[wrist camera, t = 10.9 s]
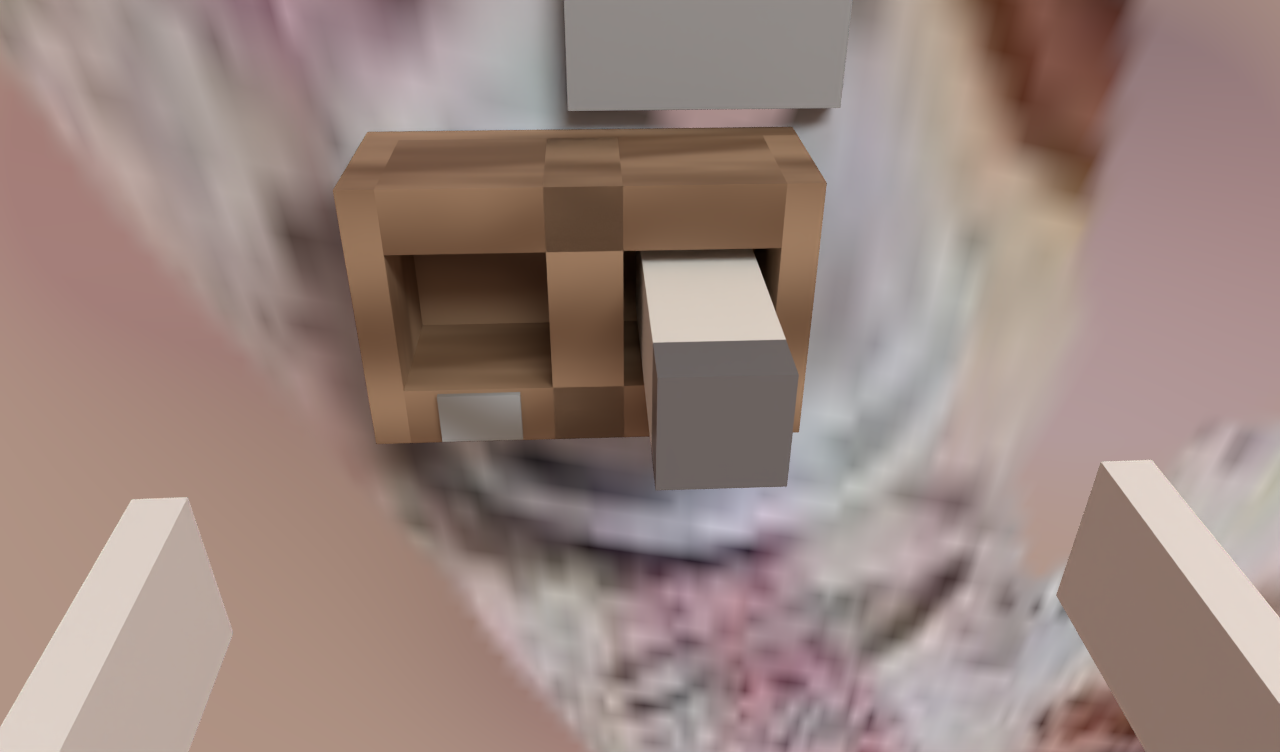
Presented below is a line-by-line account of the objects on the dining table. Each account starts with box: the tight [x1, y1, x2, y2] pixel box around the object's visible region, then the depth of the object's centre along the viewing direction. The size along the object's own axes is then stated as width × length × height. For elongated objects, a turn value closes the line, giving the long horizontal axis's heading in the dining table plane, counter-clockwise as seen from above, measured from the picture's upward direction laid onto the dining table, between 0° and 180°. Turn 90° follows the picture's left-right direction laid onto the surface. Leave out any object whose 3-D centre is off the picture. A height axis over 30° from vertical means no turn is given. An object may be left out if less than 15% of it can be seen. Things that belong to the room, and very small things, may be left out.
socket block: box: [333, 127, 827, 444], centre depth 36 cm, size 10×16×6 cm, turn 90°
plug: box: [636, 249, 799, 490], centre depth 33 cm, size 4×4×12 cm
